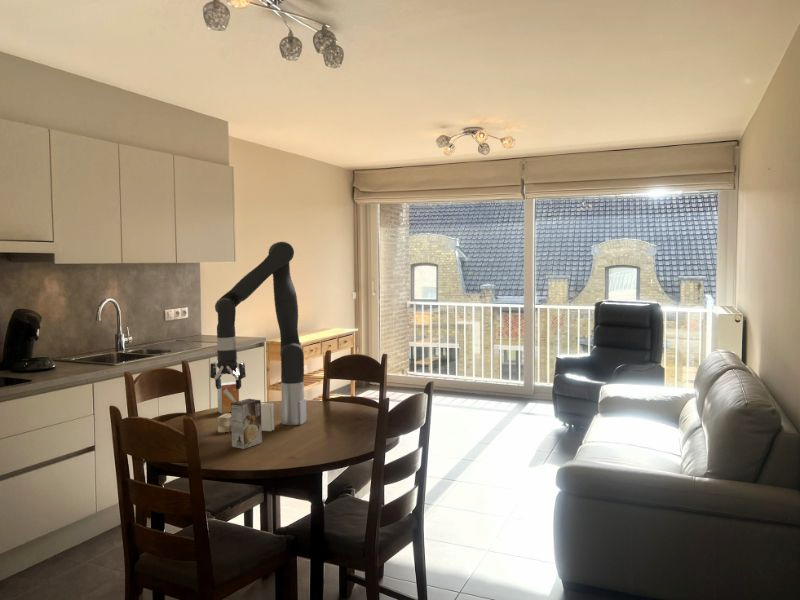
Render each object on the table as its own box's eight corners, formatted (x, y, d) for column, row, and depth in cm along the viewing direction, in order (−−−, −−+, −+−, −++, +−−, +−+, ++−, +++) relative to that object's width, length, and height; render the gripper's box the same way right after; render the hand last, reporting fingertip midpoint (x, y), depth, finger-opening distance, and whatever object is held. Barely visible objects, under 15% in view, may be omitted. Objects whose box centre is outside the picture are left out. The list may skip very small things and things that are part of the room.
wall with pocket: (274, 429, 246) (273, 403, 245) (271, 431, 243) (270, 404, 243) (253, 428, 248) (253, 402, 248) (250, 430, 245) (249, 403, 245)
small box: (221, 414, 274) (221, 385, 274) (217, 411, 280) (216, 383, 279) (239, 411, 279) (239, 383, 278) (235, 409, 284) (234, 381, 284)
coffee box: (250, 440, 230) (248, 398, 229) (262, 443, 226) (261, 399, 226) (231, 446, 222) (230, 402, 221) (244, 449, 218) (242, 404, 218)
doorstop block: (236, 428, 249) (236, 413, 249) (228, 432, 242) (228, 417, 242) (226, 428, 250) (225, 413, 250) (218, 432, 243) (217, 417, 243)
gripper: (247, 347, 246) (249, 387, 247) (215, 347, 250) (217, 386, 250) (238, 349, 239) (240, 391, 240) (205, 349, 242) (207, 390, 243)
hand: (228, 388), depth 245 cm, fingers open, 8 cm apart
